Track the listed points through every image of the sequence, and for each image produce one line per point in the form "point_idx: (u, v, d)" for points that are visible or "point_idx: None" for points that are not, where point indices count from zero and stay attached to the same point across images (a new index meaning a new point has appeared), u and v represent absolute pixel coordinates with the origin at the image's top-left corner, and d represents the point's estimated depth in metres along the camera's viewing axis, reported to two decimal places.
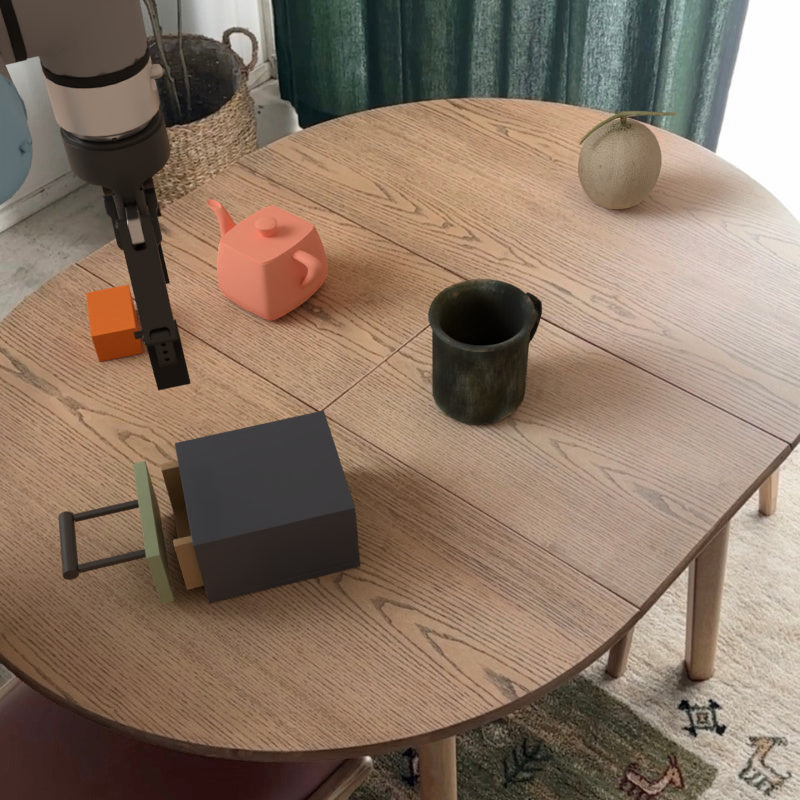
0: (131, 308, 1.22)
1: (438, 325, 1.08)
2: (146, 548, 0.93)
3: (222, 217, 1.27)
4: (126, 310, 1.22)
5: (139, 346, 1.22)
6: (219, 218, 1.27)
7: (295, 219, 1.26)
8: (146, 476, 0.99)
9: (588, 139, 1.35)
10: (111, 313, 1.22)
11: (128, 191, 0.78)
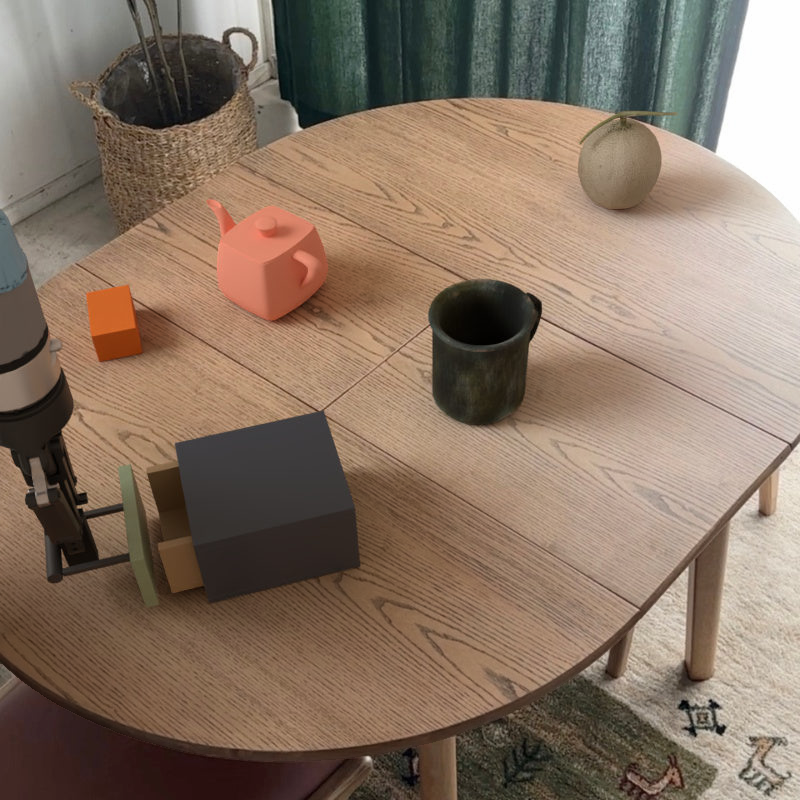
0: (131, 308, 1.22)
1: (438, 325, 1.08)
2: (130, 552, 0.93)
3: (222, 217, 1.27)
4: (126, 310, 1.22)
5: (139, 346, 1.22)
6: (219, 218, 1.27)
7: (295, 219, 1.26)
8: (131, 479, 0.99)
9: (588, 139, 1.35)
10: (111, 313, 1.22)
11: (31, 451, 0.83)
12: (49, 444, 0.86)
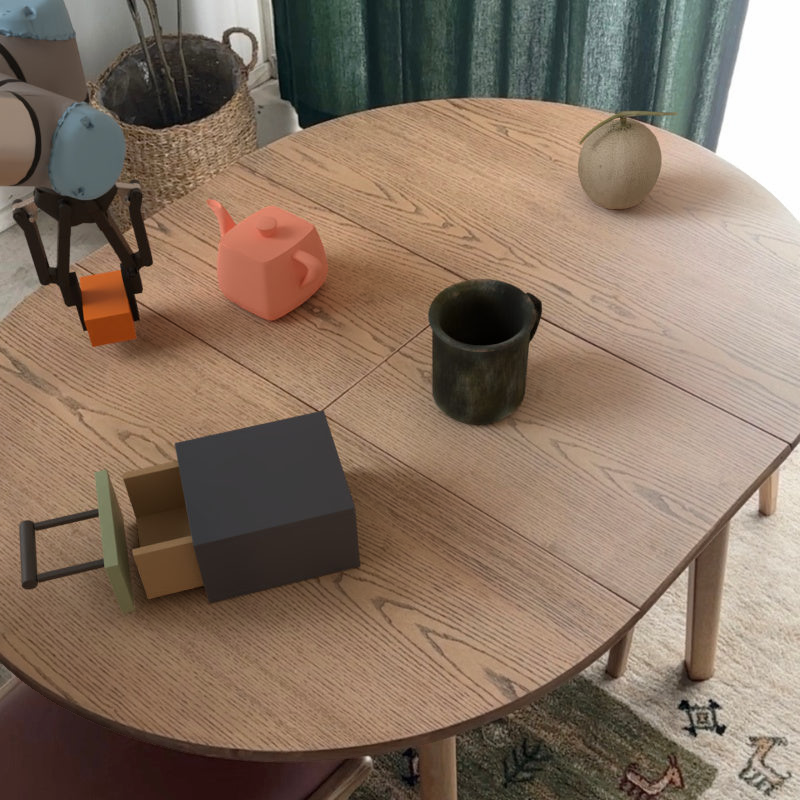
0: (125, 293, 1.21)
1: (438, 325, 1.08)
2: (105, 558, 0.93)
3: (222, 217, 1.27)
4: (120, 295, 1.20)
5: (133, 331, 1.20)
6: (219, 218, 1.27)
7: (295, 219, 1.26)
8: (107, 485, 0.99)
9: (588, 139, 1.35)
10: (104, 298, 1.20)
11: None
12: (60, 199, 1.09)
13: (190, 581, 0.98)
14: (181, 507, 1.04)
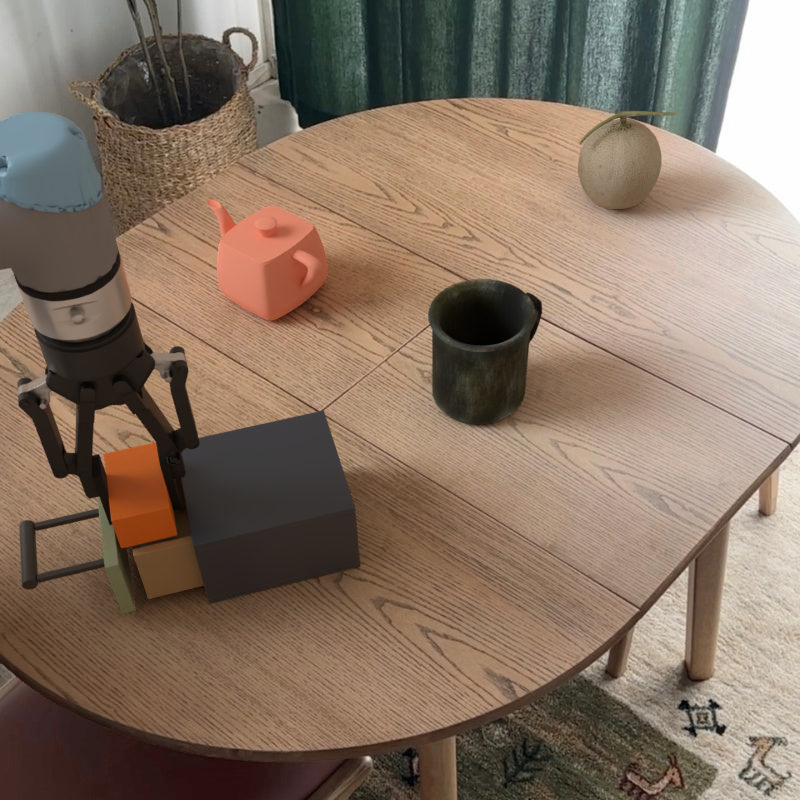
0: (163, 478, 0.94)
1: (438, 325, 1.08)
2: (105, 558, 0.93)
3: (222, 217, 1.27)
4: (156, 481, 0.94)
5: (173, 528, 0.94)
6: (219, 218, 1.27)
7: (295, 219, 1.26)
8: None
9: (588, 139, 1.35)
10: (137, 485, 0.93)
11: None
12: (80, 381, 0.83)
13: (190, 581, 0.98)
14: (181, 507, 1.04)
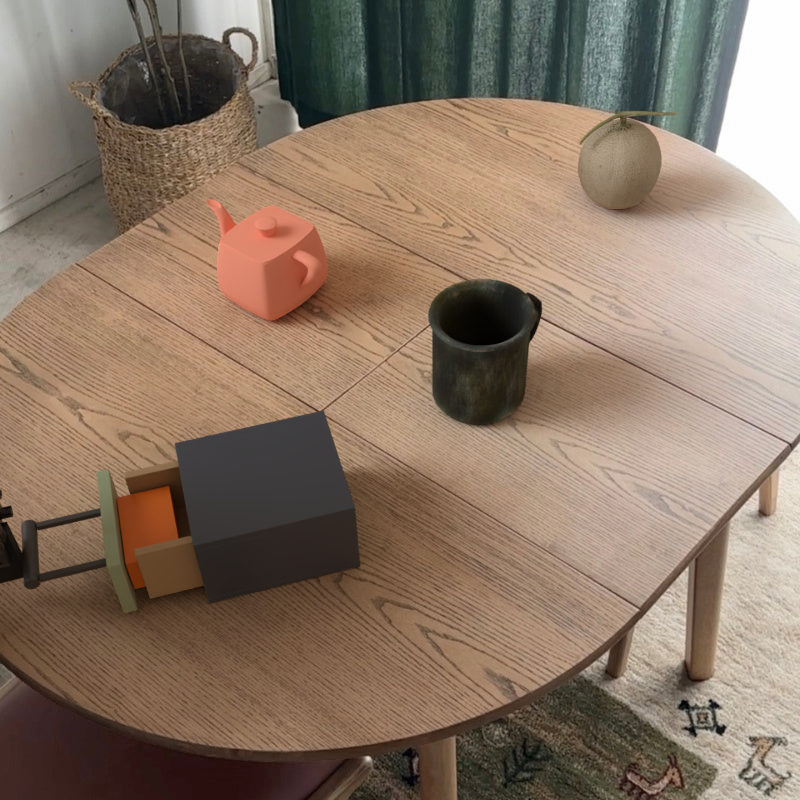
0: (174, 521, 0.98)
1: (438, 325, 1.08)
2: (107, 557, 0.93)
3: (222, 217, 1.27)
4: (168, 525, 0.98)
5: None
6: (219, 218, 1.27)
7: (295, 219, 1.26)
8: (109, 484, 0.99)
9: (588, 139, 1.35)
10: (149, 529, 0.98)
11: None
12: None
13: (192, 581, 0.98)
14: (183, 507, 1.04)
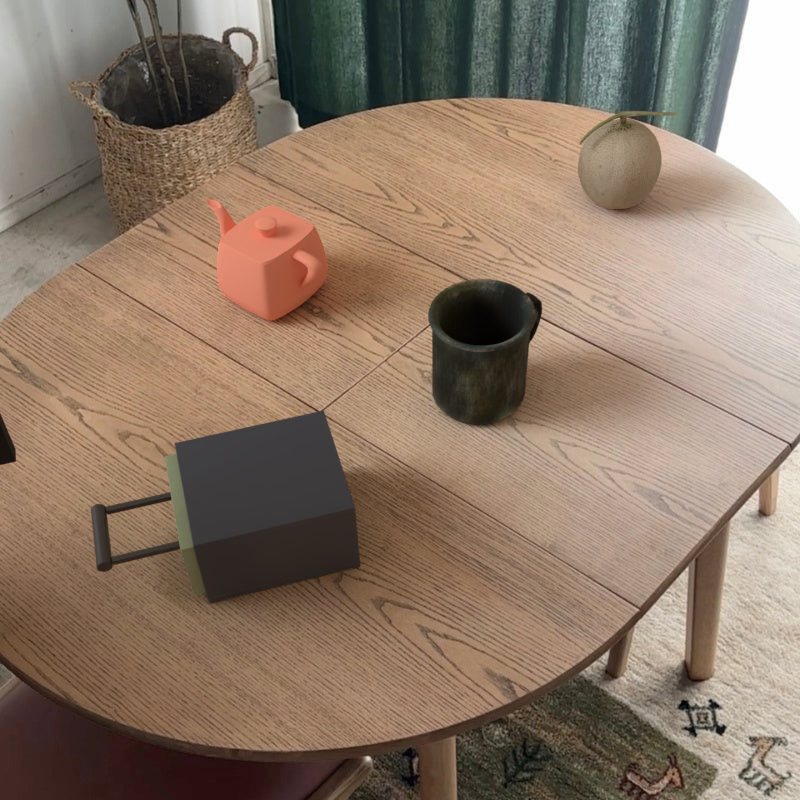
0: None
1: (438, 325, 1.08)
2: (180, 540, 0.94)
3: (222, 217, 1.27)
4: None
5: None
6: (219, 218, 1.27)
7: (295, 219, 1.26)
8: (178, 469, 1.00)
9: (588, 139, 1.35)
10: None
11: None
12: None
13: None
14: None
